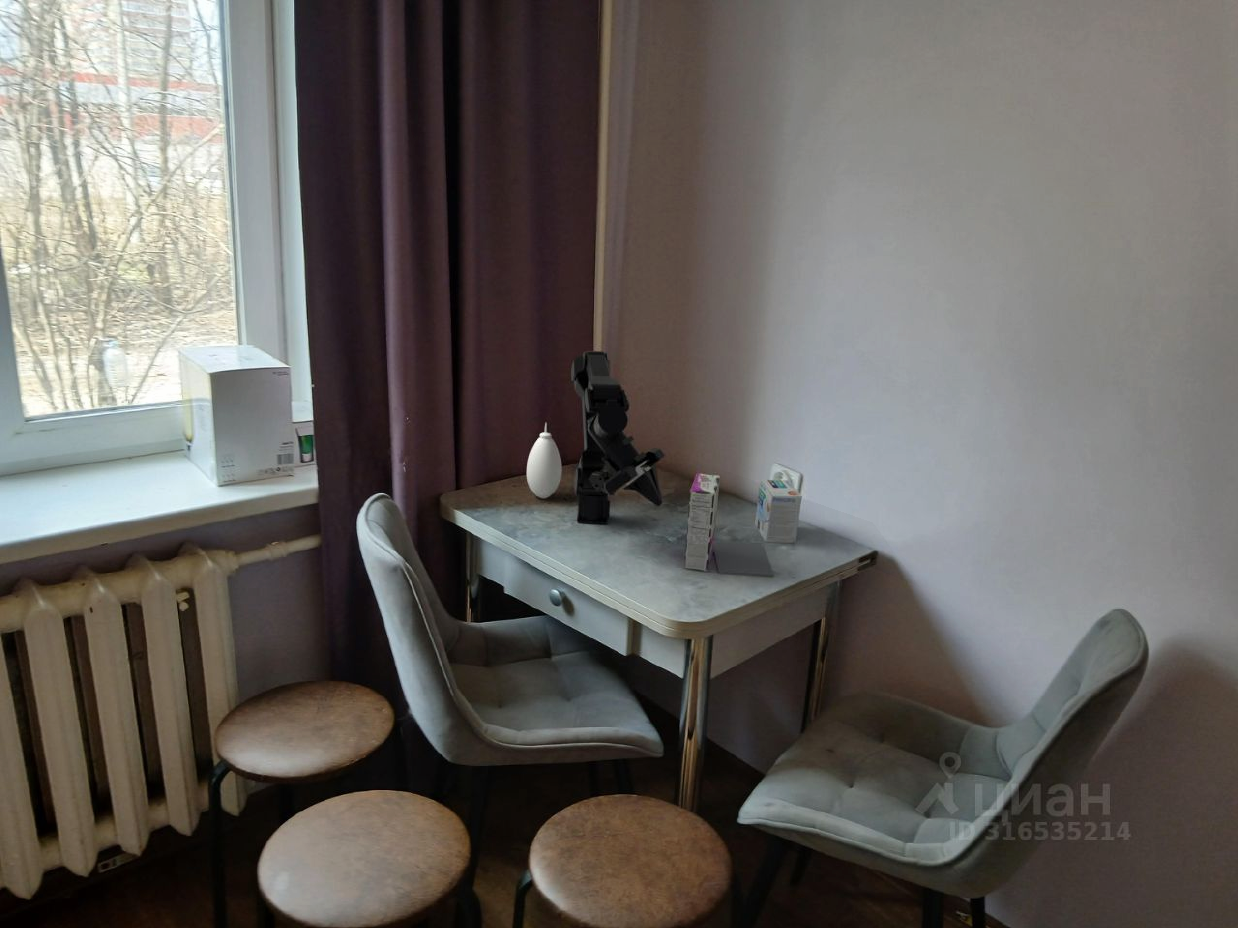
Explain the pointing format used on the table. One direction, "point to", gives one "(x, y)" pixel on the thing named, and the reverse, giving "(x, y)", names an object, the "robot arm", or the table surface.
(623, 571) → the table surface
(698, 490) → the candy bar box
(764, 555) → the mat
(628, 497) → the table surface
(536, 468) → the white air blower bulb
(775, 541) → the light bulb box
